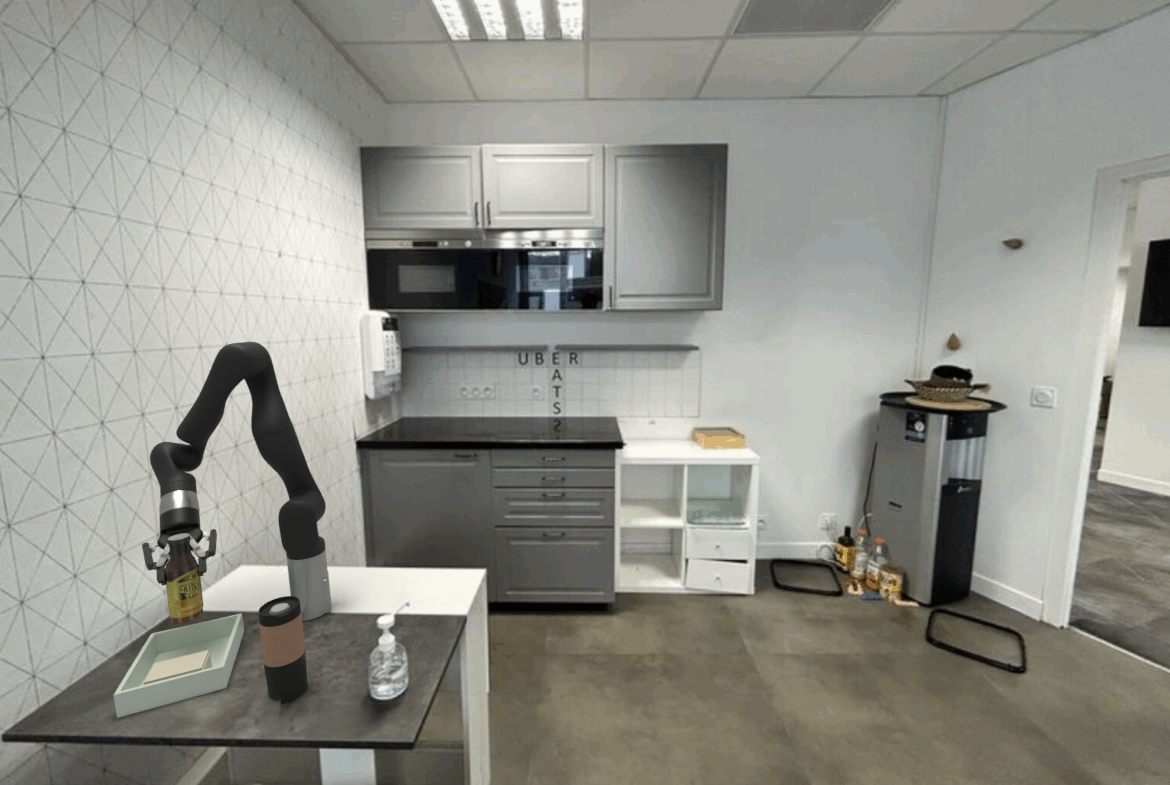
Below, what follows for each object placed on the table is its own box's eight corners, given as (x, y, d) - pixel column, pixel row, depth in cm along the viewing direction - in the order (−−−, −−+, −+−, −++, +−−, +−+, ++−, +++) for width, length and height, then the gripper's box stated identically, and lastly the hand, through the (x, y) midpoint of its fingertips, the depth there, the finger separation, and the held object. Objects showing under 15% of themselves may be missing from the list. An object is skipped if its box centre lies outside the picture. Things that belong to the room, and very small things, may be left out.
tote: (244, 635, 126) (241, 613, 125) (226, 691, 107) (223, 666, 106) (154, 656, 118) (151, 633, 118) (117, 722, 99) (113, 695, 98)
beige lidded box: (212, 669, 112) (210, 649, 112) (205, 689, 106) (202, 668, 105) (156, 683, 108) (153, 662, 107) (145, 705, 102) (142, 683, 101)
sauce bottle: (185, 627, 112) (173, 544, 109) (163, 624, 113) (150, 542, 110) (212, 610, 118) (201, 532, 115) (190, 607, 119) (179, 530, 116)
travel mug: (282, 678, 110) (273, 595, 108) (316, 679, 110) (307, 595, 107) (259, 705, 103) (248, 616, 100) (295, 705, 103) (285, 616, 100)
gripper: (137, 513, 114) (137, 583, 106) (215, 500, 122) (220, 563, 114) (143, 527, 119) (143, 595, 111) (217, 513, 127) (222, 575, 119)
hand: (182, 579), depth 113 cm, fingers closed on sauce bottle, 6 cm apart
